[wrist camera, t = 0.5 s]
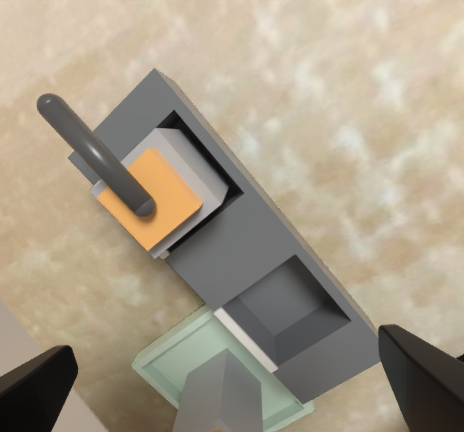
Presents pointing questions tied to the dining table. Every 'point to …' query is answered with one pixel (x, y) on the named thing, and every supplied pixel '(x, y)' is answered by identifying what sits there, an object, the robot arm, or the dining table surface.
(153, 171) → the twin plug
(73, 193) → the dining table surface
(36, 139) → the dining table surface
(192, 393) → the plug
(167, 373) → the tray
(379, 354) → the robot arm
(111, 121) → the grey long block
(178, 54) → the dining table surface
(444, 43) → the dining table surface
